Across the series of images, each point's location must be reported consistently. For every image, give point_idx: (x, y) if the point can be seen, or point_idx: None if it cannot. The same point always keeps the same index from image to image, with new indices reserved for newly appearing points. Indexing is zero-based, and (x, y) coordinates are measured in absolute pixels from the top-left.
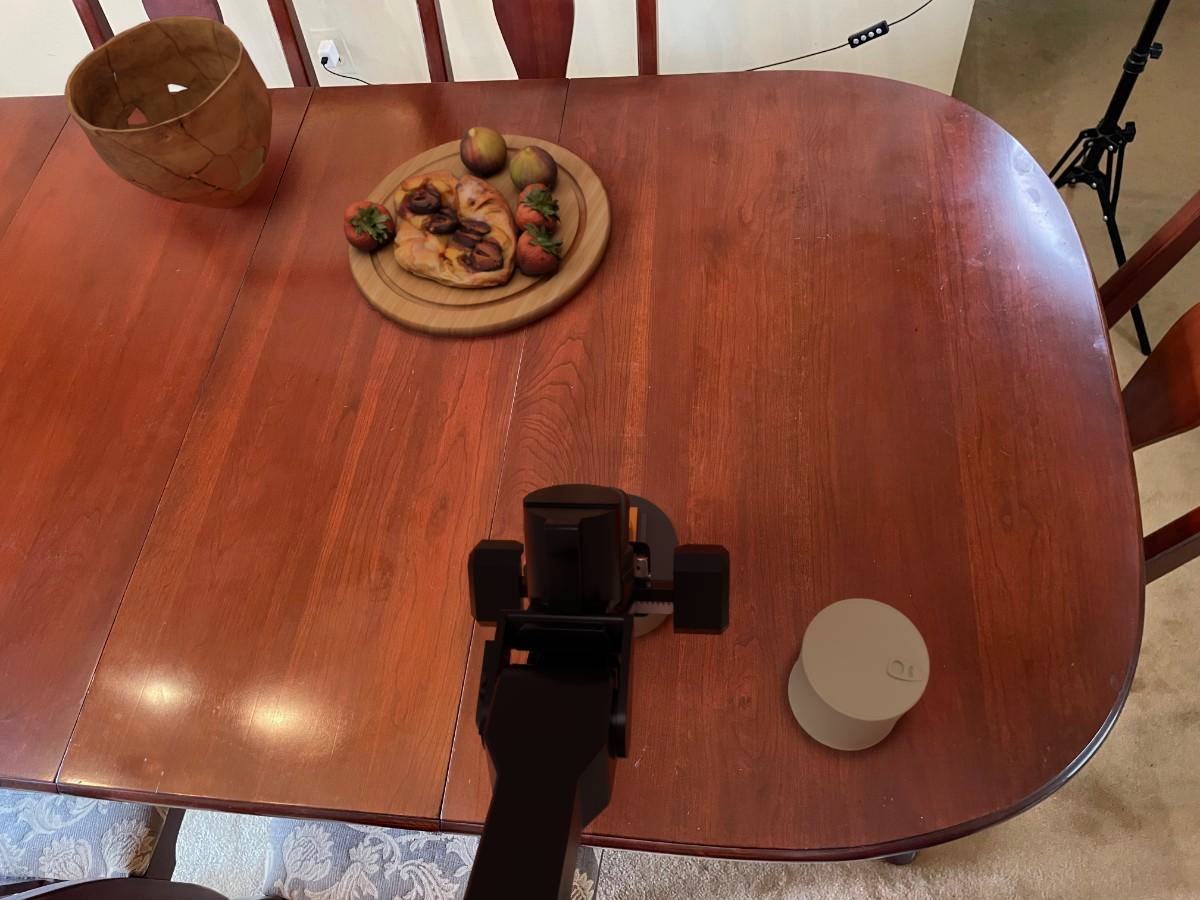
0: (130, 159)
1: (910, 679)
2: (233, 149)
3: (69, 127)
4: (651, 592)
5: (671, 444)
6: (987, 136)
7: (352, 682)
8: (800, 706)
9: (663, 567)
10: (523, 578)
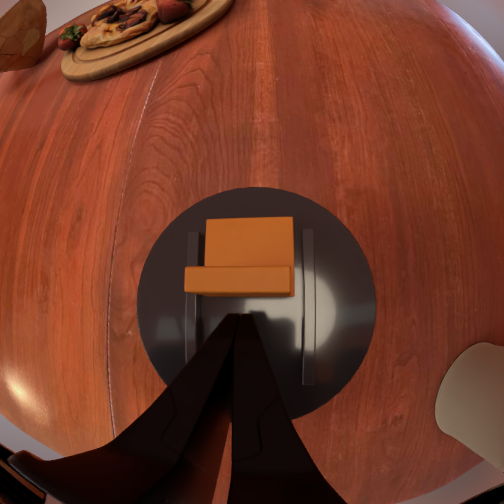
0: None
1: None
2: (16, 32)
3: None
4: None
5: (308, 128)
6: (443, 5)
7: (42, 379)
8: (455, 432)
9: (349, 340)
10: (14, 489)
